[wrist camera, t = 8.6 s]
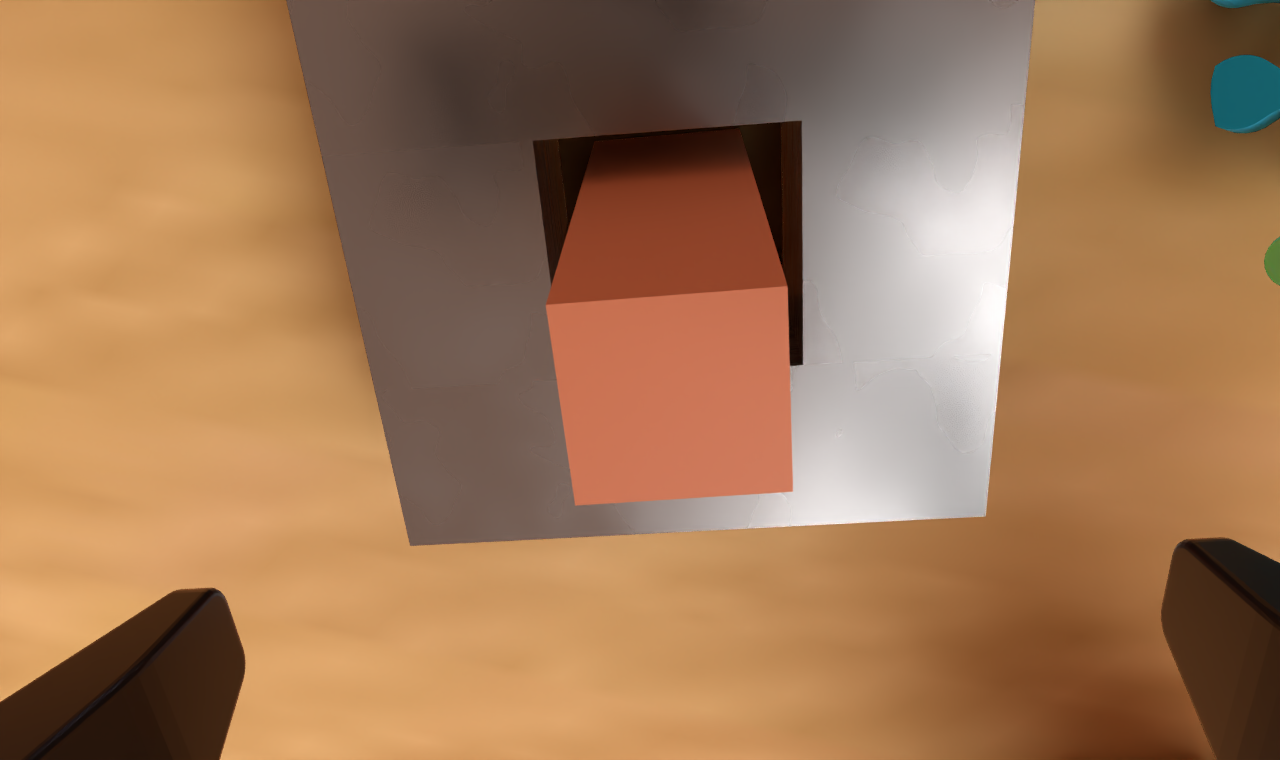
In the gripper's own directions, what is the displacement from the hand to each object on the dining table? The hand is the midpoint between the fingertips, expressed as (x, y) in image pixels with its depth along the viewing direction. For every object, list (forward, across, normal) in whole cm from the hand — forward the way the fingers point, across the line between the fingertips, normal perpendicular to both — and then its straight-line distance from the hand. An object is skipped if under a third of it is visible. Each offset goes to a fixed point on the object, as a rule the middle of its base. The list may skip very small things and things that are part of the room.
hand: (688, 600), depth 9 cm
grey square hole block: (+13, 0, 0) cm, 13 cm away
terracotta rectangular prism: (+13, 0, 0) cm, 13 cm away
